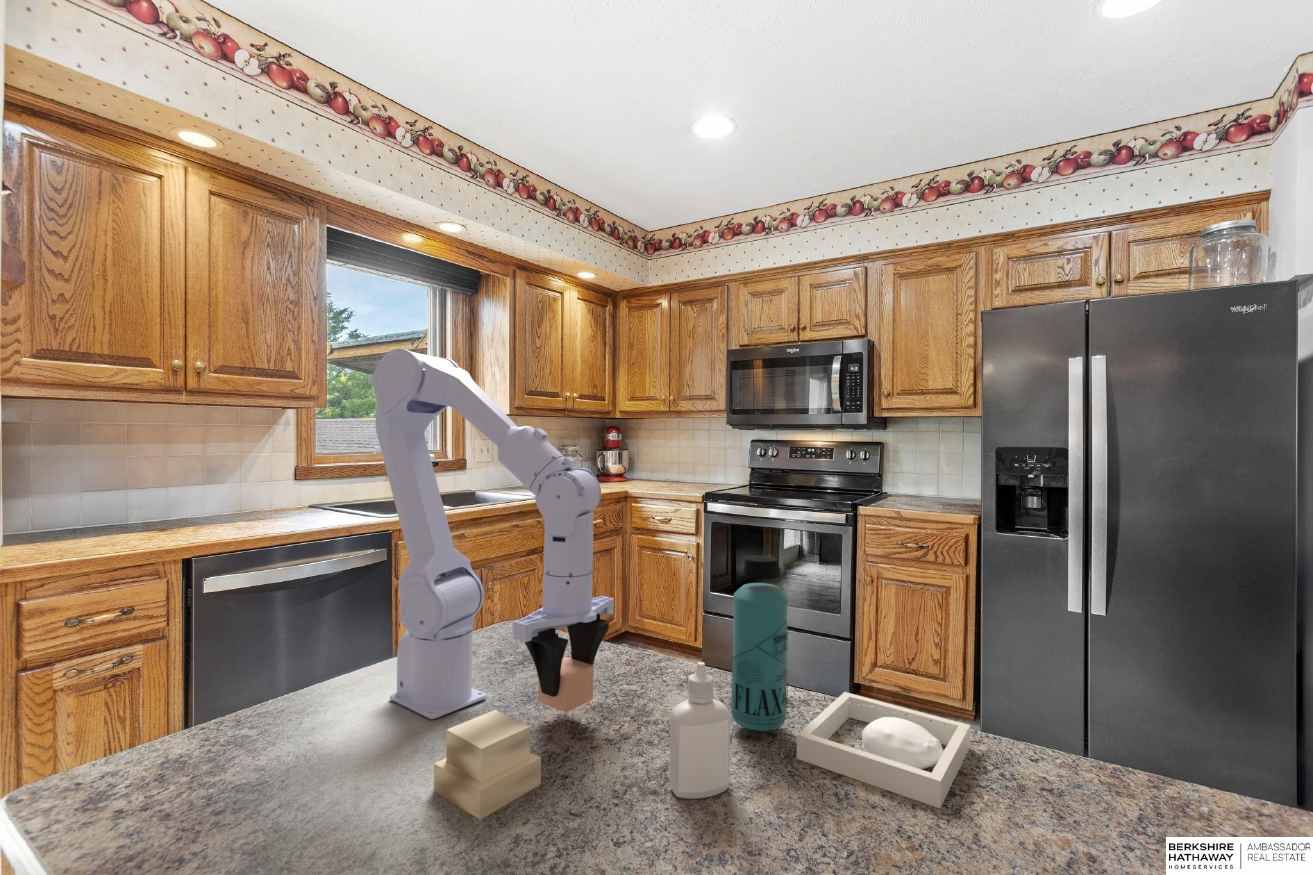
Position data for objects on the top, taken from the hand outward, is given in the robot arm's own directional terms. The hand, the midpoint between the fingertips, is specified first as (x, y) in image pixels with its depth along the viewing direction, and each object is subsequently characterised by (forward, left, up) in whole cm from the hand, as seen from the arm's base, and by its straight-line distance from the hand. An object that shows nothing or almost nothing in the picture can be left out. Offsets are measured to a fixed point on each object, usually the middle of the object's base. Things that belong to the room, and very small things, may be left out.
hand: (565, 686), depth 72 cm
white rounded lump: (+34, +16, -4) cm, 38 cm away
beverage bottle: (+19, +12, -4) cm, 23 cm away
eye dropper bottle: (+20, -2, -4) cm, 21 cm away
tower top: (+4, -14, -1) cm, 15 cm away
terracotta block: (0, 0, -2) cm, 2 cm away
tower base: (+4, -14, -4) cm, 16 cm away
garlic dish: (+32, +16, -4) cm, 36 cm away
